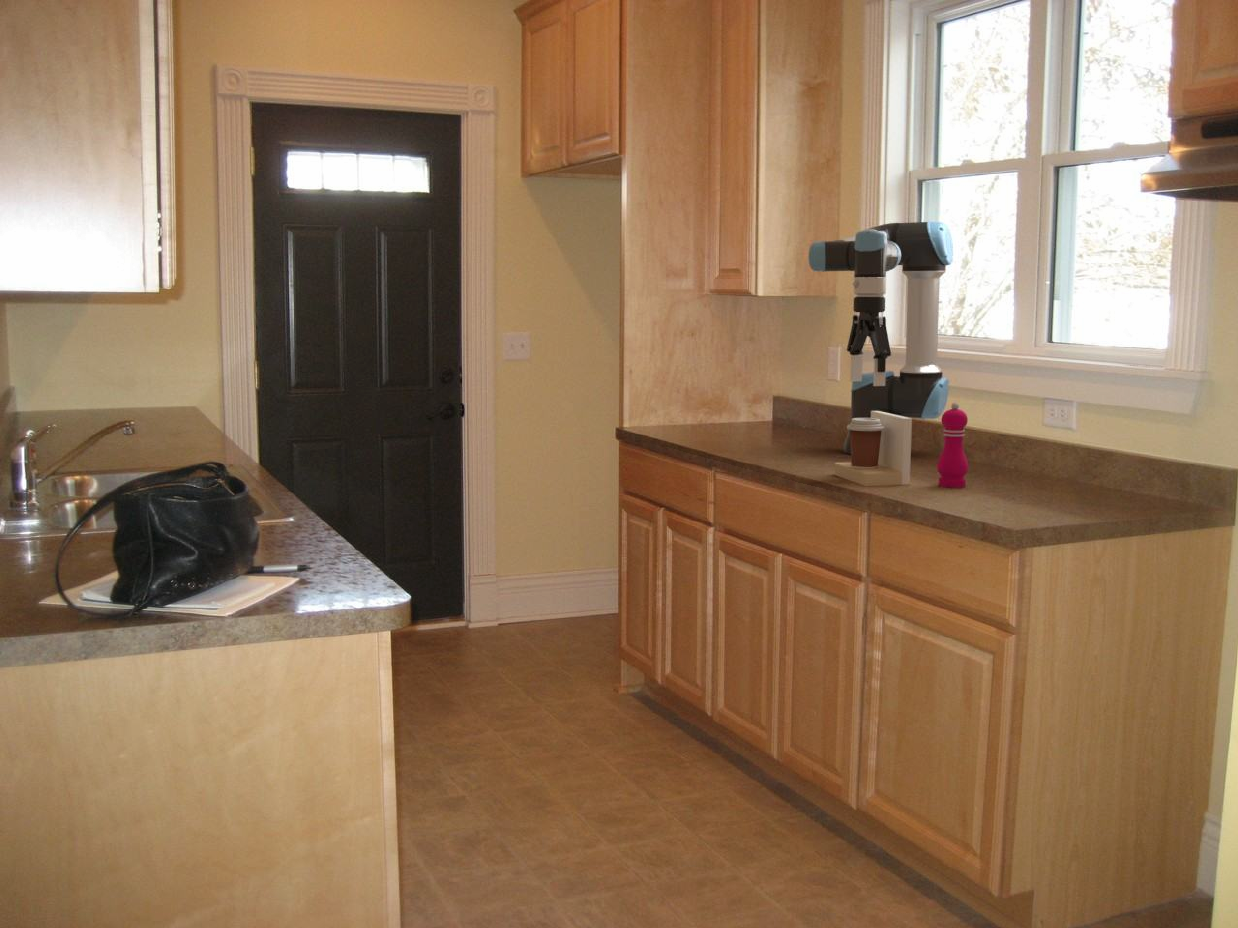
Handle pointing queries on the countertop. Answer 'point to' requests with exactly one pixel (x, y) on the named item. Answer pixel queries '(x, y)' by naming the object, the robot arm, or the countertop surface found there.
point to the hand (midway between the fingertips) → (867, 383)
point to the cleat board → (885, 455)
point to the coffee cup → (865, 442)
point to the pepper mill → (953, 449)
